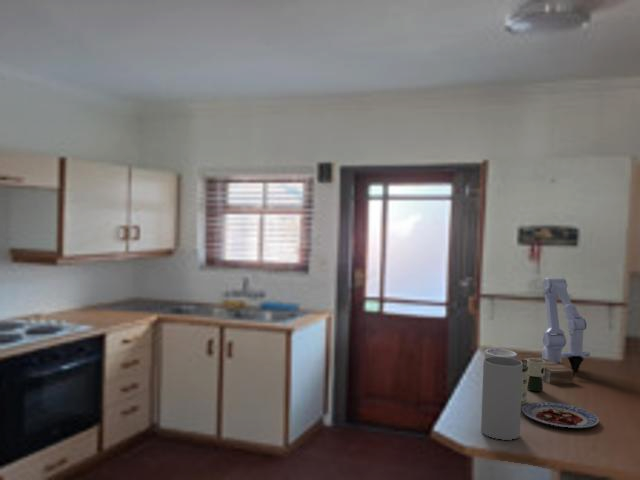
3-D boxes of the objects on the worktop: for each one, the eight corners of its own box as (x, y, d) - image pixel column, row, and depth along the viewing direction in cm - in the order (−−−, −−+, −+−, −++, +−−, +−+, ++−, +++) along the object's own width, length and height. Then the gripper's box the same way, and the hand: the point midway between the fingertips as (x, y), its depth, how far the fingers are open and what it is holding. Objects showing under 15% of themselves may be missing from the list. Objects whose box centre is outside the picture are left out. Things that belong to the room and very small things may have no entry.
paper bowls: (512, 374, 266) (513, 357, 265) (480, 368, 274) (480, 352, 273) (519, 367, 279) (520, 351, 278) (488, 362, 287) (489, 346, 286)
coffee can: (501, 394, 234) (502, 361, 233) (527, 398, 230) (529, 364, 229) (498, 402, 225) (499, 367, 224) (525, 406, 220) (526, 370, 220)
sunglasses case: (575, 379, 260) (568, 366, 261) (560, 385, 262) (553, 372, 263) (574, 370, 276) (567, 357, 277) (560, 375, 279) (553, 363, 280)
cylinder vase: (483, 424, 199) (485, 354, 198) (520, 430, 194) (523, 359, 193) (478, 437, 188) (481, 363, 187) (518, 444, 183) (521, 368, 182)
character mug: (543, 395, 235) (544, 364, 234) (525, 392, 237) (526, 362, 237) (544, 388, 245) (545, 358, 244) (526, 385, 247) (528, 356, 247)
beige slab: (521, 370, 272) (522, 358, 272) (541, 369, 275) (542, 357, 275) (551, 384, 251) (551, 371, 250) (572, 382, 253) (573, 370, 253)
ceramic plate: (594, 439, 189) (594, 430, 189) (515, 422, 203) (515, 414, 203) (602, 416, 211) (602, 408, 211) (530, 403, 225) (530, 395, 225)
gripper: (568, 345, 260) (567, 375, 261) (595, 344, 264) (594, 373, 264) (558, 342, 267) (557, 370, 268) (584, 341, 271) (583, 369, 271)
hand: (574, 371), depth 267 cm, fingers closed
